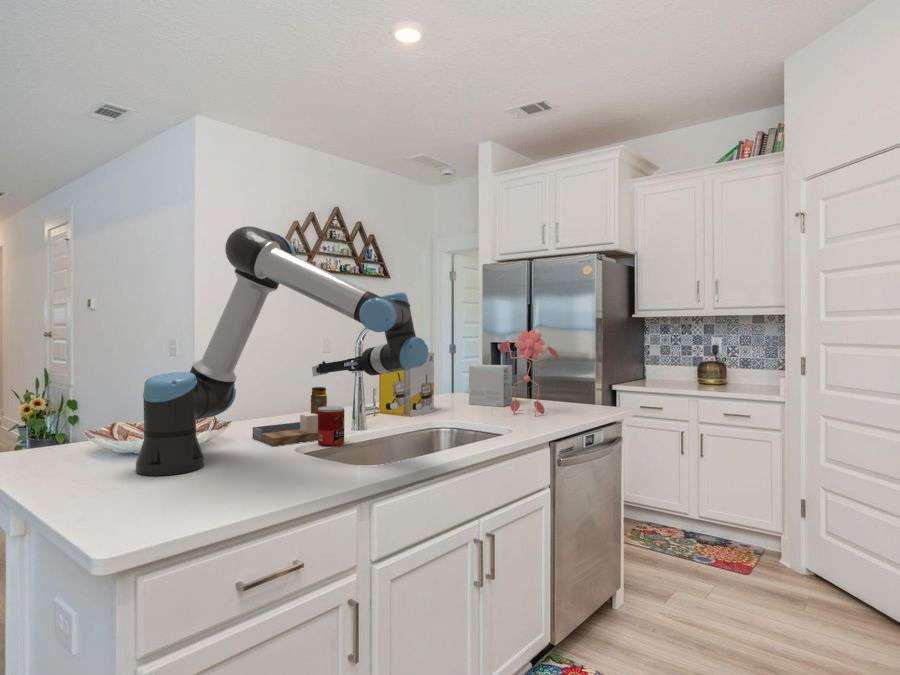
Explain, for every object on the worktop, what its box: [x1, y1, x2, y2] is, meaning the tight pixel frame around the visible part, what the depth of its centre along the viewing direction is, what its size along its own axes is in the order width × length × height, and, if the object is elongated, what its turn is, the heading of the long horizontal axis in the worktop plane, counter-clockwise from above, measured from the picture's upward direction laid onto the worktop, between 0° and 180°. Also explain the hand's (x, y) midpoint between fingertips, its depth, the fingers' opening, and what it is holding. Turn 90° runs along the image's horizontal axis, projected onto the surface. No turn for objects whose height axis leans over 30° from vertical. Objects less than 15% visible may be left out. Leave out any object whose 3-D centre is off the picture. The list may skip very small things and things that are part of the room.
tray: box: [252, 421, 300, 442], centre depth 181 cm, size 20×7×4 cm, turn 130°
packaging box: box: [378, 351, 435, 418], centre depth 233 cm, size 16×16×25 cm
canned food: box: [317, 405, 345, 448], centre depth 169 cm, size 8×8×11 cm
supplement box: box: [468, 364, 513, 407], centre depth 261 cm, size 17×13×18 cm
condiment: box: [310, 386, 328, 414], centre depth 217 cm, size 7×8×12 cm
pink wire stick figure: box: [499, 329, 560, 418], centre depth 232 cm, size 15×26×35 cm, turn 64°
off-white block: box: [299, 413, 318, 432], centre depth 178 cm, size 4×4×5 cm
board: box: [260, 429, 318, 447], centre depth 175 cm, size 20×9×2 cm, turn 130°
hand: (333, 370), depth 163 cm, fingers open, 13 cm apart
